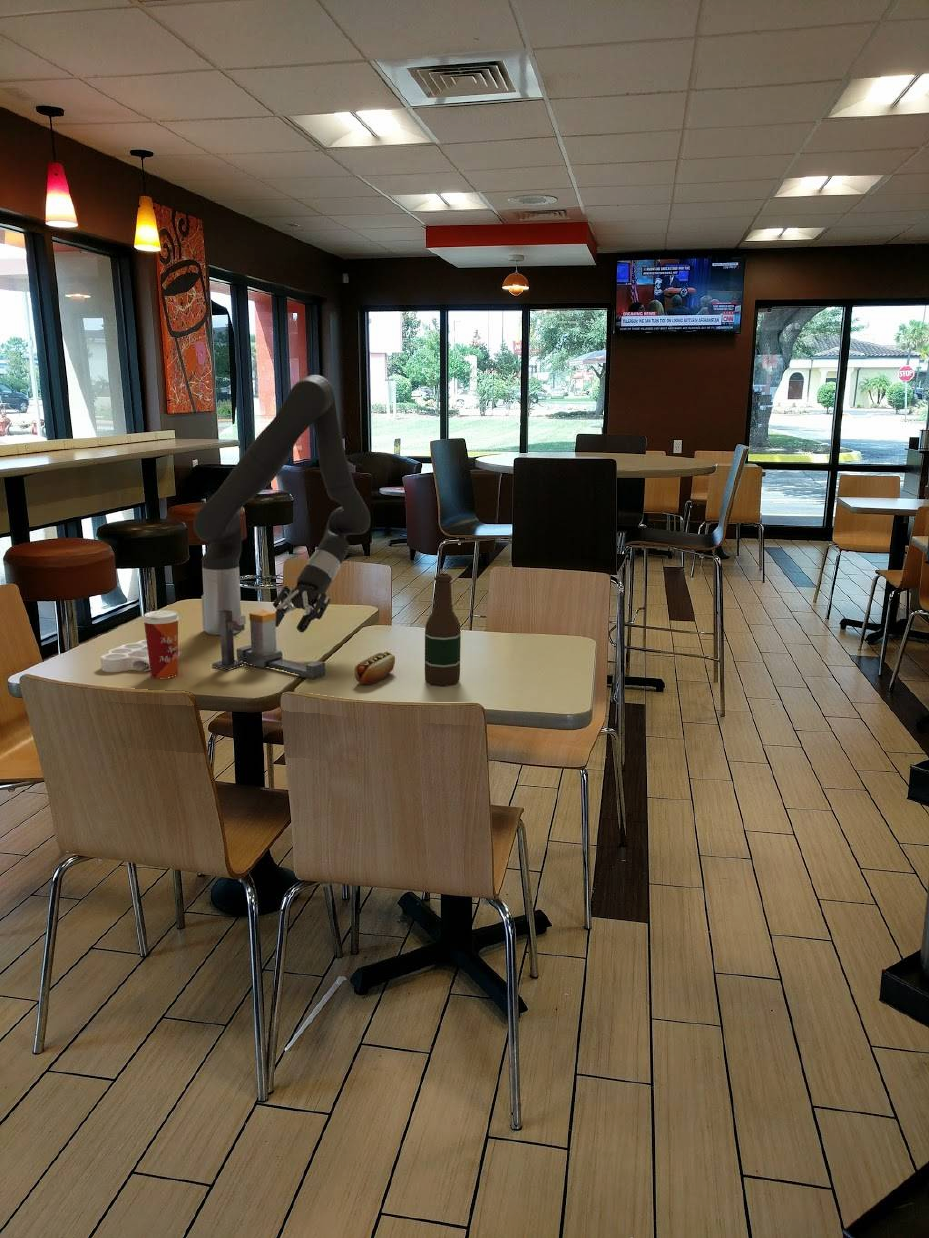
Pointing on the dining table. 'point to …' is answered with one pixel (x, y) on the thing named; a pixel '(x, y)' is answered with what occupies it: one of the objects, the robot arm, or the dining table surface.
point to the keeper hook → (229, 639)
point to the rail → (289, 665)
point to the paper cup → (162, 642)
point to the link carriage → (262, 638)
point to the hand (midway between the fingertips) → (286, 627)
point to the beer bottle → (442, 638)
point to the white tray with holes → (127, 658)
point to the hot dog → (374, 668)
